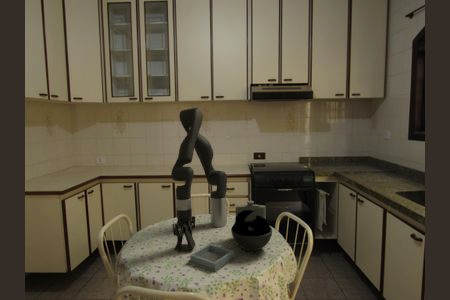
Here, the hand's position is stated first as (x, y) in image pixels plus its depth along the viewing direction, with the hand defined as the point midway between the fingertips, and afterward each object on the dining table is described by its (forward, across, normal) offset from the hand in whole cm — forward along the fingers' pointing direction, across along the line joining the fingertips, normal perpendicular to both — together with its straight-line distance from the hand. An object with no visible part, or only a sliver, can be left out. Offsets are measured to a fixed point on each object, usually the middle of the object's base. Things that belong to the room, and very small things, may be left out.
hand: (185, 240), depth 136 cm
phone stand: (+4, 0, 0) cm, 4 cm away
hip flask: (+5, -30, +20) cm, 36 cm away
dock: (+5, +1, +18) cm, 19 cm away
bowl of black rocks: (+5, -19, +27) cm, 33 cm away
